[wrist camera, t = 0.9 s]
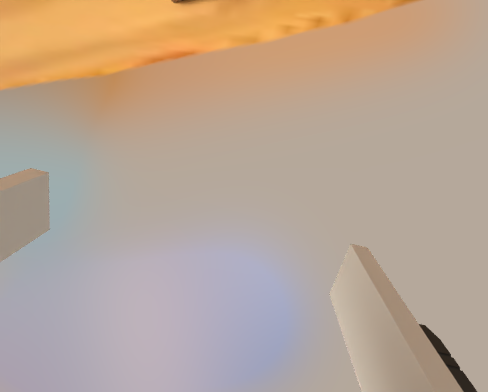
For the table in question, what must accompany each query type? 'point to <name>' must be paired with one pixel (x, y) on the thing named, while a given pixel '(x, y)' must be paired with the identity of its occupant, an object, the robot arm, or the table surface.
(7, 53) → the table surface
